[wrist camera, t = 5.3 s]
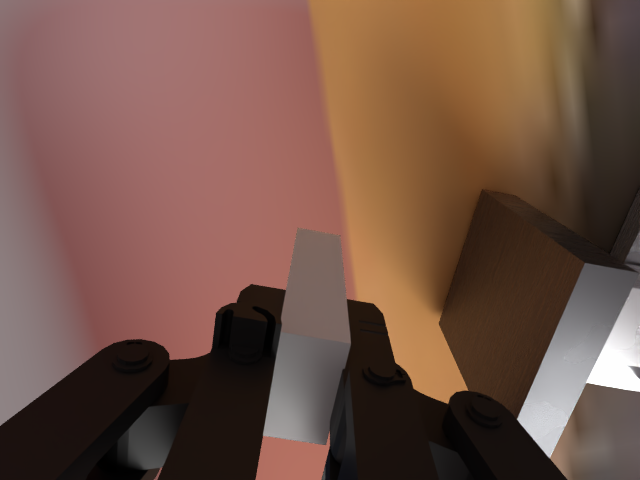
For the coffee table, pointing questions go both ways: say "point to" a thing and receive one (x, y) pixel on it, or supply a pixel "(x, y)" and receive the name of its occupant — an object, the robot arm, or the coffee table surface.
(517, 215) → the plunger
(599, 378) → the gauge body
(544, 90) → the coffee table surface
